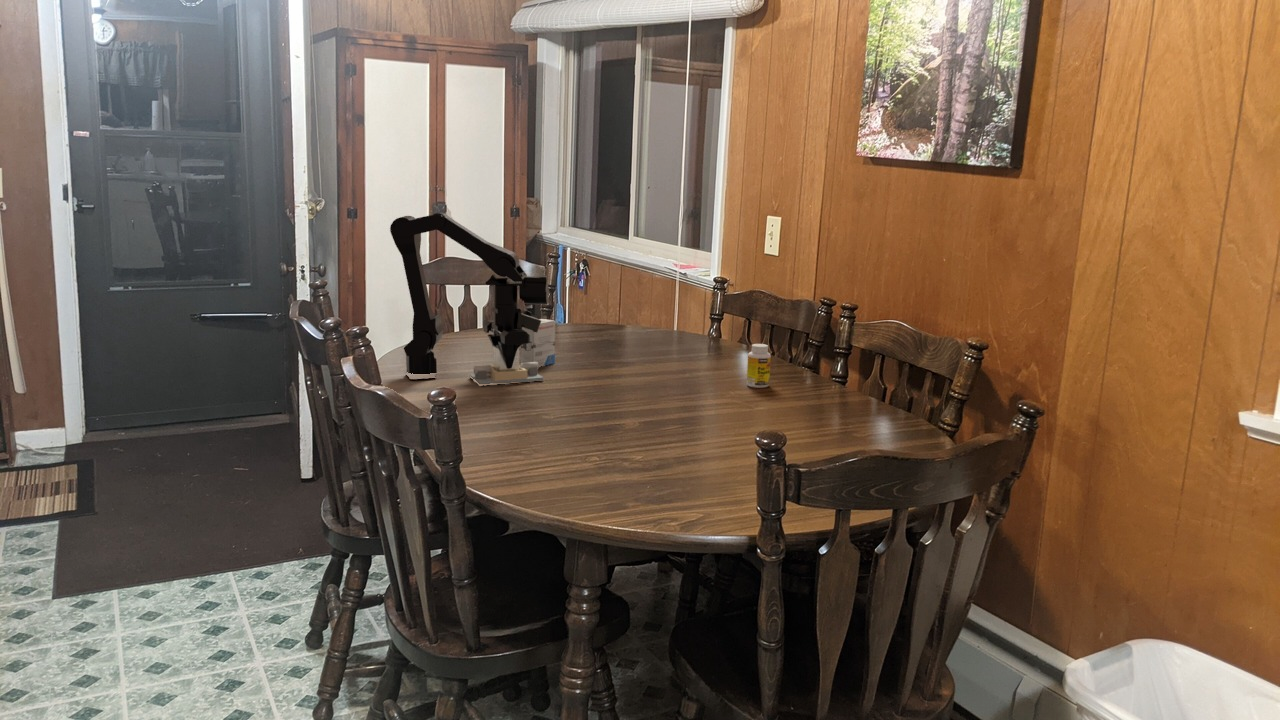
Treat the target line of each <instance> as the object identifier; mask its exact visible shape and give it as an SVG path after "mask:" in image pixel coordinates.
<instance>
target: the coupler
mask: <svg viewBox="0 0 1280 720" xmlns="http://www.w3.org/2000/svg"><path fill="white" fill-rule="evenodd" d="M492 348H493V350H492V351H493V365H494V370H496V371H497V372H501V371H514V370H519V365H520V347H519V348H518V349H517V352H516V355H515V359H514V362H513V365H512V368H510V369H508V368H507V367H506V364H505V361H504V358H503V355H502V352H501V349H500V346H499V345H497V346H492Z"/></svg>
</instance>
